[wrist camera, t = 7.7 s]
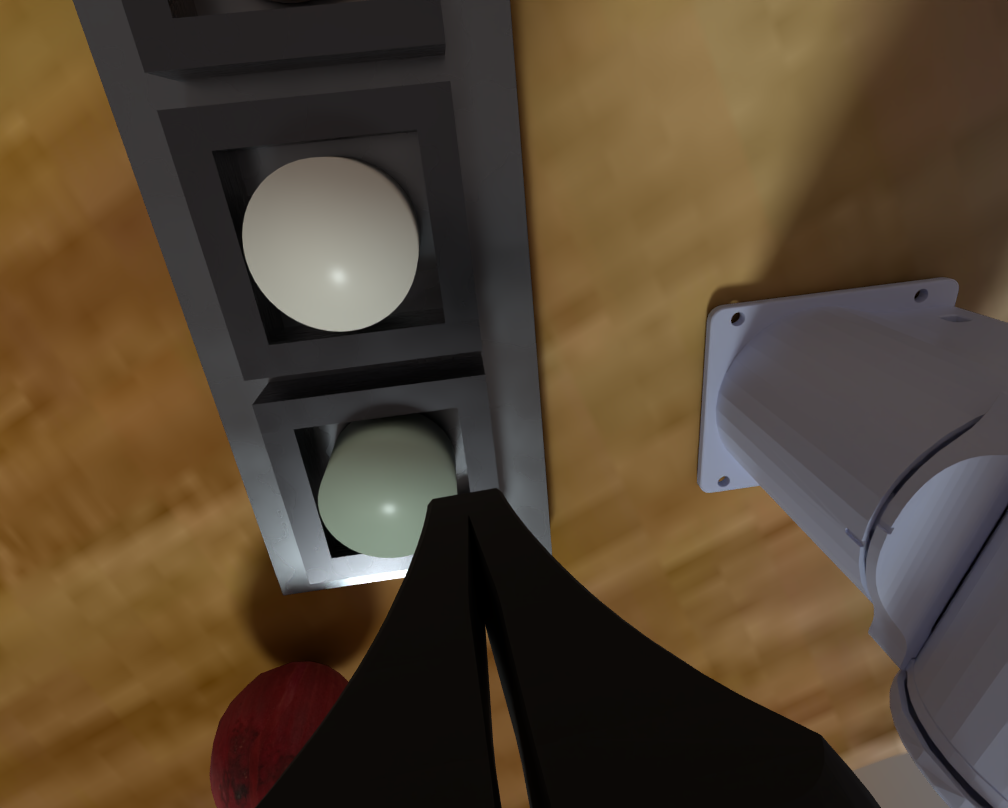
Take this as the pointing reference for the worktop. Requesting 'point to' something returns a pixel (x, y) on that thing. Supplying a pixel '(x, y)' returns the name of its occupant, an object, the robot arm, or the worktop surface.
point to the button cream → (332, 242)
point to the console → (420, 173)
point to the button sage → (385, 483)
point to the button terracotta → (290, 1)
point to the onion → (269, 729)
